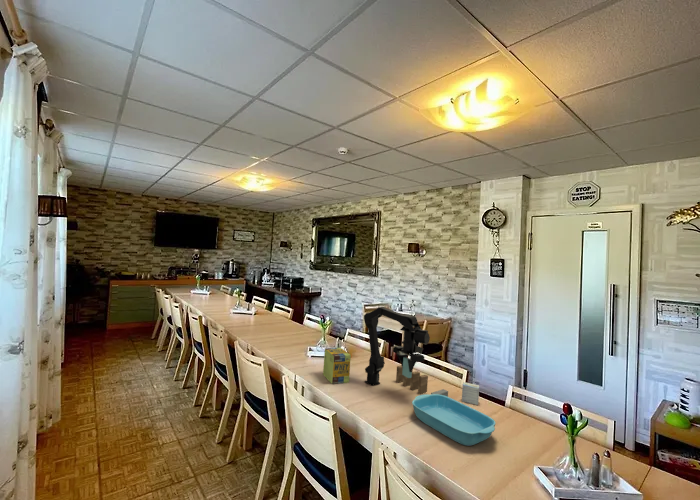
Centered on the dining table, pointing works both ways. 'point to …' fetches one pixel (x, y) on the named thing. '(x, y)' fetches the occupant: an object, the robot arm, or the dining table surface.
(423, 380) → the domino
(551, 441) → the dining table surface
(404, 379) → the domino
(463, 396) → the medicine box
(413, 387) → the domino
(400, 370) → the domino
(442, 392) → the end block
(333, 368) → the protein box
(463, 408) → the casserole dish
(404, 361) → the light blue flat block
